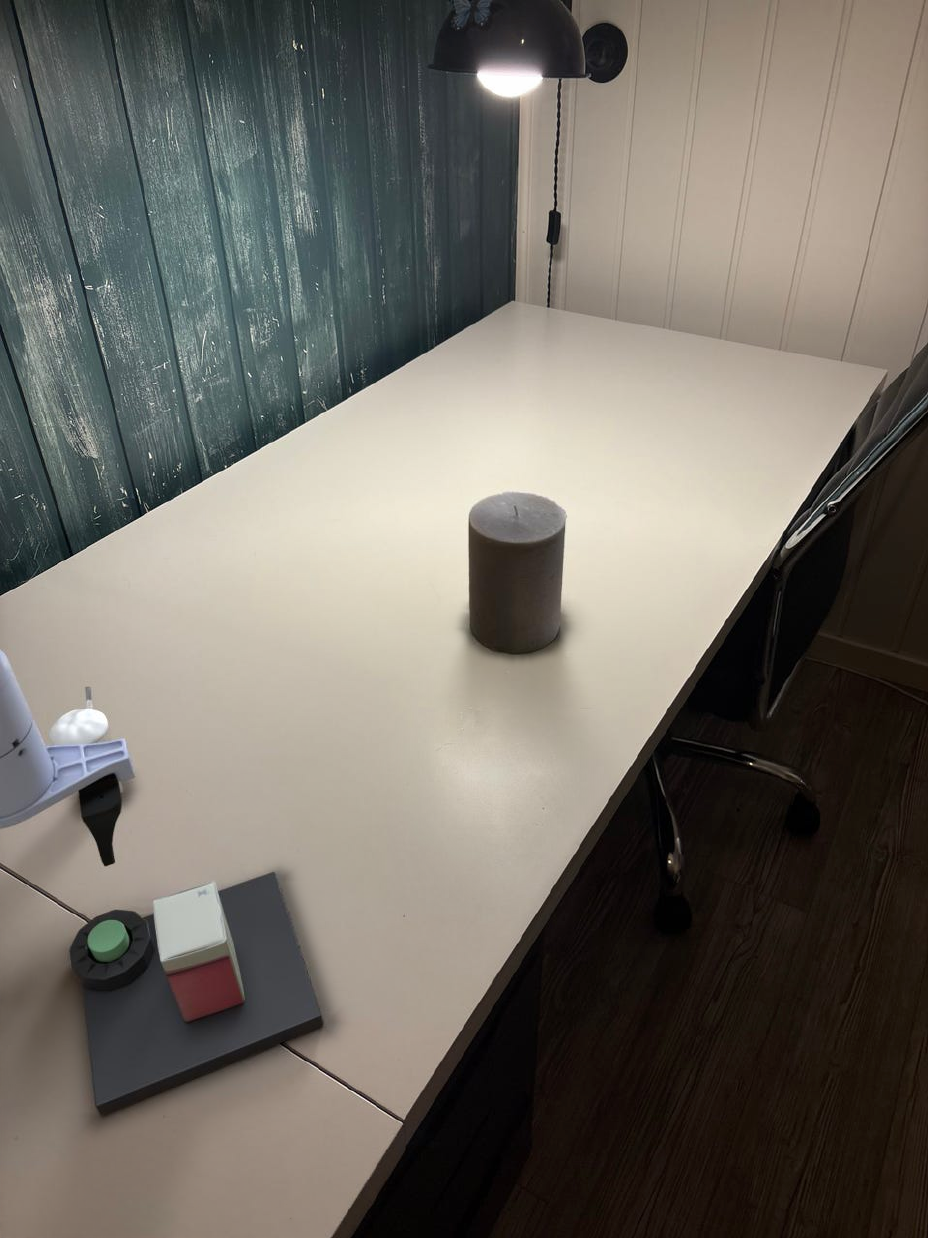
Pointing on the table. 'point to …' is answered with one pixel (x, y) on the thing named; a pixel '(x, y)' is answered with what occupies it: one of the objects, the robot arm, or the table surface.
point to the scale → (150, 1016)
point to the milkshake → (81, 727)
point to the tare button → (108, 941)
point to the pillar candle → (515, 571)
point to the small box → (198, 951)
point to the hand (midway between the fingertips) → (50, 873)
